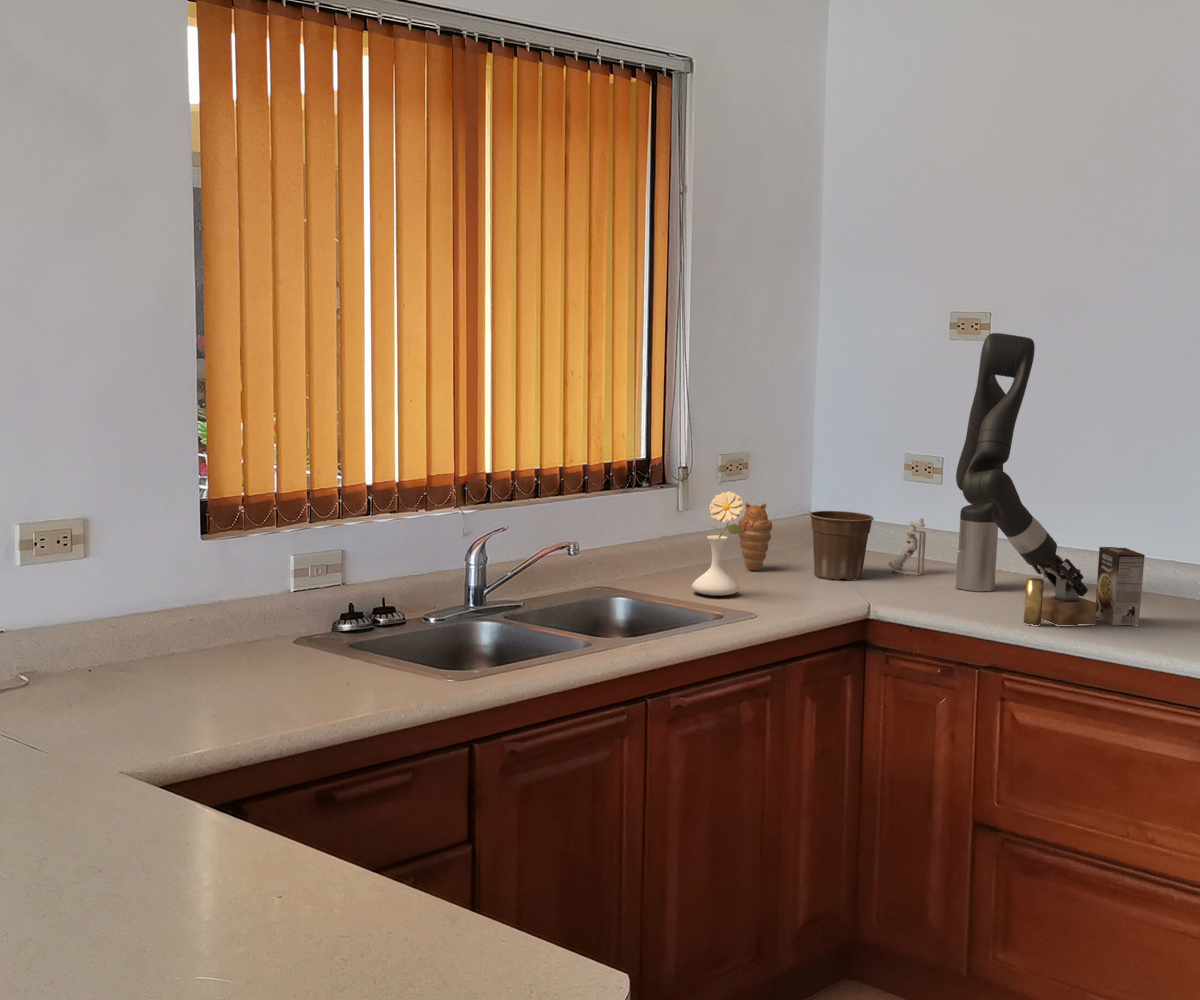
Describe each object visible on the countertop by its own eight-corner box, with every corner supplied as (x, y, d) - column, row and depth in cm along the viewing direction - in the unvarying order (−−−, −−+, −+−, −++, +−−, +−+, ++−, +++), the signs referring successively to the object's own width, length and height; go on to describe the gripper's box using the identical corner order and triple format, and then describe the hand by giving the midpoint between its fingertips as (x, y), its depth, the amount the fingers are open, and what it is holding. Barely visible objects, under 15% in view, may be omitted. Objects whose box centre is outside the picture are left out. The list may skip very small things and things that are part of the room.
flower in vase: (681, 593, 313) (684, 489, 310) (711, 587, 321) (714, 486, 318) (725, 602, 304) (729, 495, 301) (754, 595, 313) (758, 491, 309)
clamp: (892, 569, 352) (895, 514, 350) (926, 574, 347) (929, 517, 345) (885, 571, 349) (888, 515, 347) (919, 576, 343) (923, 519, 341)
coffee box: (1093, 616, 298) (1098, 546, 296) (1120, 617, 298) (1125, 546, 296) (1111, 626, 289) (1117, 553, 287) (1140, 626, 289) (1145, 553, 287)
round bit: (1023, 625, 287) (1026, 580, 286) (1023, 622, 291) (1026, 577, 289) (1041, 626, 286) (1044, 581, 285) (1040, 623, 290) (1043, 578, 288)
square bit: (1062, 623, 290) (1066, 570, 288) (1053, 620, 293) (1057, 567, 292) (1076, 623, 291) (1080, 569, 289) (1067, 619, 294) (1070, 566, 293)
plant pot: (880, 575, 342) (883, 514, 340) (856, 585, 329) (860, 521, 327) (821, 568, 351) (824, 508, 349) (796, 577, 338) (799, 515, 336)
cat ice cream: (735, 572, 343) (737, 503, 340) (738, 567, 350) (741, 500, 348) (769, 574, 341) (772, 505, 338) (772, 569, 348) (774, 501, 346)
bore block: (1059, 626, 287) (1061, 604, 286) (1035, 617, 295) (1036, 596, 294) (1095, 625, 289) (1096, 602, 288) (1070, 616, 298) (1071, 594, 297)
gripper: (1061, 532, 281) (1104, 583, 285) (1023, 522, 294) (1064, 571, 299) (1038, 557, 280) (1081, 608, 284) (1000, 546, 293) (1042, 595, 298)
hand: (1072, 589), depth 292 cm, fingers open, 8 cm apart
